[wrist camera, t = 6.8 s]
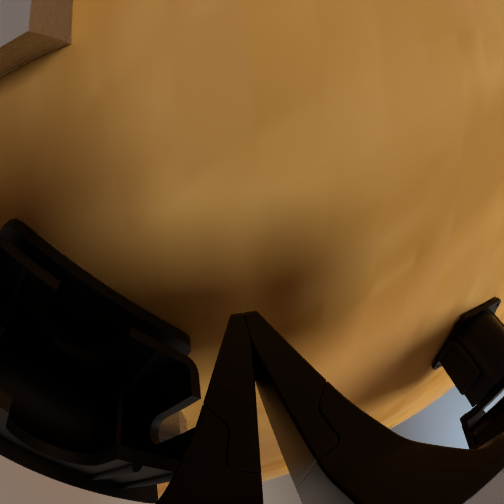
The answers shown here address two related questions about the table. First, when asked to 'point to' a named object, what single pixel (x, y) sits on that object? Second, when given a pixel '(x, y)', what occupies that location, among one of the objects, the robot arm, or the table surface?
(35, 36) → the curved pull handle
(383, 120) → the table surface
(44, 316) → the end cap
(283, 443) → the robot arm
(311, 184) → the table surface
